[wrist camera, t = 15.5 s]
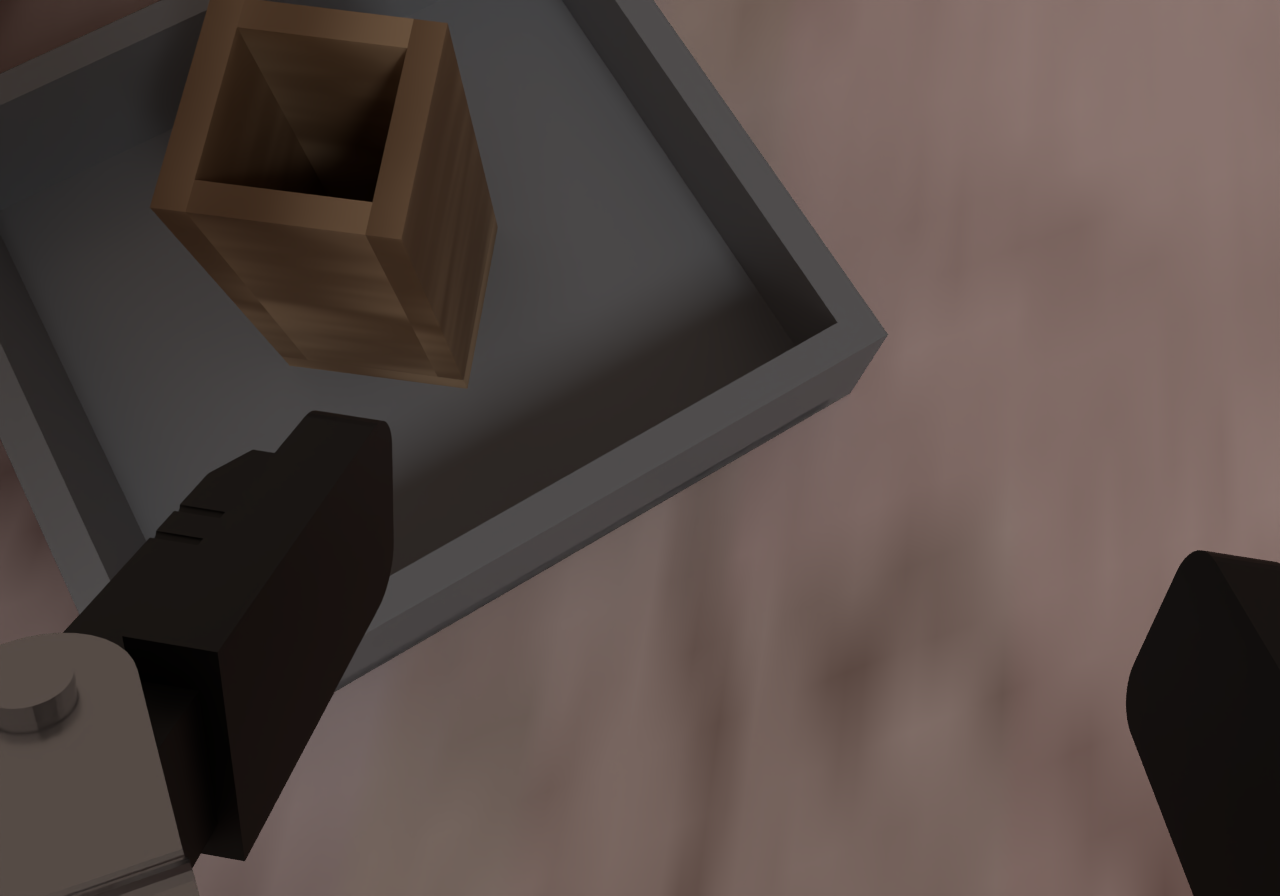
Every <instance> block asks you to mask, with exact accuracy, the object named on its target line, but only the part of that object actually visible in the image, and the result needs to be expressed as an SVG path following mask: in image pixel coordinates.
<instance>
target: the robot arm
mask: <svg viewBox="0 0 1280 896" xmlns="http://www.w3.org/2000/svg"><path fill="white" fill-rule="evenodd" d="M393 551H394V524H393V459H392V436H391V431H390V427H389V425H388V424H387V422H385V421H381V420H375V419H368V418H362V417H356V416H349V415H343V414H336V413H330V412H324V411H317V410H314V411H311V412H309V413H308V414H307V415H306V416H305V417H304V418H303V419H302V421H301V422H300V423H299V424H298V425H297V427H296V428H295V429H294V430H293V431H292V433H291V434H290V435H289V436H288V437H287V439H286V440H285V441H284V442H283V443H282V445H281V446H280V447H279V448H278V449H277V451H276V452H275V453H272V452H266V451H259V450H251V451H249V452H247V453H245V454H243V455H241V456H240V457H238V458H236V459H234V460H232V461H230V462H228V463H226V464H225V465H223V466H221V467H219V468H217V469H215V470H213V471H211V472H210V473H208V474H207V475H206V476H205V477H204V478H203V479H202V481H201V482H200V483H199V484H198V485H197V486H196V487H195V488H194V489H193V490H192V492H191V493H190V494H189V495H188V496H187V497H186V498H185V499H184V500H183V501H182V503H181V504H180V508H179V511H173V512H172V514H171V515H170V516H169V517H168V518H167V519H166V520H165V521H164V522H163V523H162V525H161V526H160V527H159V528H158V529H157V530H156V535H155V538H149V539H148V540H147V541H146V542H145V543H144V544H143V545H142V547H141V548H140V549H139V550H138V551H137V552H136V553H135V554H134V555H133V556H132V558H131V559H130V560H129V561H128V562H127V563H126V564H125V565H124V566H123V567H122V569H121V570H120V571H119V572H118V573H117V574H116V575H115V576H114V577H113V578H112V580H111V581H110V582H109V583H108V584H107V585H106V586H105V587H104V588H103V589H102V591H101V592H100V593H99V594H98V595H97V596H96V597H95V598H94V599H93V600H92V601H91V603H90V604H89V605H88V606H87V607H86V608H85V609H84V610H83V611H82V612H81V614H80V615H79V616H78V617H77V618H76V619H75V620H74V621H73V622H72V623H71V625H70V626H69V627H68V628H67V629H66V630H65V631H64V632H63V633H52V634H42V635H36V636H31V637H26V638H22V639H18V640H15V641H11V642H8V643H5V644H2V645H0V896H199V892H198V888H197V885H196V881H195V877H194V874H193V870H192V868H193V866H194V864H195V862H196V861H197V859H198V857H199V856H200V854H201V853H202V854H208V855H213V856H219V857H224V858H230V859H236V860H241V861H245V860H246V858H247V856H248V854H249V852H250V850H251V849H252V847H253V845H254V843H255V841H256V839H257V837H258V835H259V833H260V832H261V830H262V828H263V826H264V824H265V822H266V820H267V818H268V816H269V815H270V813H271V811H272V809H273V807H274V805H275V803H276V801H277V799H278V798H279V796H280V794H281V792H282V790H283V788H284V786H285V784H286V782H287V781H288V779H289V777H290V775H291V773H292V771H293V769H294V767H295V765H296V764H297V762H298V760H299V758H300V756H301V754H302V752H303V750H304V748H305V746H306V745H307V743H308V741H309V739H310V737H311V735H312V733H313V731H314V729H315V728H316V726H317V724H318V722H319V720H320V718H321V716H322V714H323V712H324V711H325V709H326V707H327V705H328V703H329V701H330V699H331V697H332V695H333V694H334V692H335V690H336V688H337V686H338V684H339V682H340V680H341V678H342V677H343V675H344V673H345V671H346V669H347V667H348V665H349V663H350V661H351V660H352V658H353V656H354V654H355V652H356V650H357V648H358V646H359V644H360V642H361V641H362V639H363V637H364V635H365V633H366V631H367V629H368V627H369V625H370V624H371V622H372V620H373V618H374V616H375V614H376V612H377V610H378V608H379V606H380V604H381V602H382V600H383V597H384V595H385V592H386V589H387V585H388V581H389V577H390V573H391V567H392V561H393ZM1126 713H1127V720H1128V725H1129V729H1130V732H1131V735H1132V738H1133V740H1134V743H1135V745H1136V748H1137V750H1138V753H1139V756H1140V758H1141V761H1142V763H1143V766H1144V769H1145V771H1146V774H1147V776H1148V779H1149V782H1150V784H1151V787H1152V789H1153V792H1154V795H1155V797H1156V800H1157V802H1158V805H1159V807H1160V810H1161V813H1162V815H1163V818H1164V820H1165V823H1166V826H1167V828H1168V831H1169V833H1170V836H1171V839H1172V841H1173V844H1174V846H1175V849H1176V852H1177V854H1178V857H1179V859H1180V862H1181V864H1182V867H1183V870H1184V872H1185V875H1186V877H1187V880H1188V883H1189V885H1190V888H1191V890H1192V893H1193V896H1280V563H1278V562H1273V561H1266V560H1260V559H1253V558H1247V557H1241V556H1234V555H1228V554H1221V553H1215V552H1209V551H1200V550H1198V551H1195V552H1192V553H1191V554H1189V555H1188V556H1187V557H1186V558H1185V559H1184V560H1183V562H1182V563H1181V565H1180V566H1179V568H1178V570H1177V572H1176V574H1175V576H1174V579H1173V581H1172V583H1171V585H1170V587H1169V589H1168V592H1167V594H1166V596H1165V598H1164V600H1163V602H1162V604H1161V607H1160V609H1159V611H1158V613H1157V615H1156V617H1155V619H1154V622H1153V624H1152V626H1151V628H1150V630H1149V632H1148V634H1147V637H1146V639H1145V641H1144V643H1143V645H1142V647H1141V649H1140V652H1139V654H1138V656H1137V658H1136V660H1135V662H1134V665H1133V667H1132V670H1131V673H1130V676H1129V681H1128V686H1127V694H1126Z"/></svg>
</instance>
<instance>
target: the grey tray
mask: <svg viewBox="0 0 1280 896" xmlns="http://www.w3.org/2000/svg"><path fill="white" fill-rule="evenodd" d="M209 1H210V0H160V1H158V2H156V3H154V4H152V5H150V6H147V7H145V8H143V9H141V10H139V11H136V12H134V13H132V14H130V15H128V16H125V17H123V18H121V19H119V20H117V21H114V22H112V23H110V24H108V25H106V26H104V27H101V28H99V29H97V30H95V31H93V32H90V33H88V34H86V35H84V36H82V37H79V38H77V39H75V40H73V41H71V42H69V43H66V44H64V45H62V46H60V47H58V48H55V49H53V50H51V51H49V52H47V53H44V54H42V55H40V56H38V57H36V58H34V59H31V60H29V61H27V62H25V63H23V64H20V65H18V66H16V67H14V68H12V69H9V70H7V71H5V72H3V73H1V74H0V439H1V441H2V443H3V446H4V448H5V450H6V452H7V455H8V457H9V459H10V461H11V463H12V466H13V468H14V470H15V472H16V475H17V477H18V479H19V481H20V483H21V486H22V488H23V490H24V492H25V495H26V497H27V499H28V501H29V503H30V506H31V508H32V510H33V512H34V515H35V517H36V519H37V521H38V523H39V526H40V528H41V530H42V532H43V535H44V537H45V539H46V541H47V543H48V546H49V548H50V550H51V552H52V555H53V557H54V559H55V561H56V563H57V566H58V568H59V570H60V572H61V575H62V577H63V579H64V581H65V583H66V586H67V588H68V590H69V592H70V595H71V597H72V599H73V601H74V603H75V606H76V608H77V610H78V612H79V615H80V614H81V612H82V611H83V610H84V609H85V608H86V607H87V606H88V605H89V604H90V603H91V601H92V600H93V599H94V598H95V597H96V596H97V595H98V594H99V593H100V592H101V591H102V589H103V588H104V587H105V586H106V585H107V584H108V583H109V582H110V581H111V580H112V578H113V577H114V576H115V575H116V574H117V573H118V572H119V571H120V570H121V569H122V567H123V566H124V565H125V564H126V563H127V562H128V561H129V560H130V559H131V558H132V556H133V555H134V554H135V553H136V552H137V551H138V550H139V549H140V548H141V547H142V545H143V544H144V543H145V542H146V541H147V540H148V539H149V538H155V535H156V530H157V529H158V528H159V527H160V526H161V525H162V523H163V522H164V521H165V520H166V519H167V518H168V517H169V516H170V515H171V514H172V512H173V511H179V508H180V504H181V503H182V501H183V500H184V499H185V498H186V497H187V496H188V495H189V494H190V493H191V492H192V490H193V489H194V488H195V487H196V486H197V485H198V484H199V483H200V482H201V481H202V479H203V478H204V477H205V476H206V475H207V474H208V473H210V472H211V471H213V470H215V469H217V468H219V467H221V466H223V465H225V464H226V463H228V462H230V461H232V460H234V459H236V458H238V457H240V456H241V455H243V454H245V453H247V452H249V451H251V450H259V451H266V452H272V453H275V452H276V451H277V449H278V448H279V447H280V446H281V445H282V443H283V442H284V441H285V440H286V439H287V437H288V436H289V435H290V434H291V433H292V431H293V430H294V429H295V428H296V427H297V425H298V424H299V423H300V422H301V421H302V419H303V418H304V417H305V416H306V415H307V414H308V413H309V412H311V411H314V410H317V411H324V412H330V413H336V414H343V415H349V416H356V417H362V418H368V419H375V420H381V421H385V422H387V424H388V425H389V427H390V431H391V436H392V459H393V524H394V551H393V561H392V567H391V573H390V577H389V581H388V585H387V589H386V592H385V595H384V597H383V600H382V602H381V604H380V606H379V608H378V610H377V612H376V614H375V616H374V618H373V620H372V622H371V624H370V625H369V627H368V629H367V631H366V633H365V635H364V637H363V639H362V641H361V642H360V644H359V646H358V648H357V650H356V652H355V654H354V656H353V658H352V660H351V661H350V663H349V665H348V667H347V669H346V671H345V673H344V675H343V677H342V678H341V680H340V682H339V684H338V686H337V688H336V690H335V691H337V690H339V689H340V688H342V687H344V686H346V685H347V684H349V683H351V682H352V681H354V680H356V679H358V678H359V677H361V676H363V675H365V674H366V673H368V672H370V671H371V670H373V669H375V668H377V667H378V666H380V665H382V664H384V663H385V662H387V661H389V660H390V659H392V658H394V657H396V656H397V655H399V654H401V653H403V652H404V651H406V650H408V649H409V648H411V647H413V646H415V645H416V644H418V643H420V642H422V641H423V640H425V639H427V638H428V637H430V636H432V635H434V634H435V633H437V632H439V631H440V630H442V629H444V628H446V627H447V626H449V625H451V624H453V623H454V622H456V621H458V620H459V619H461V618H463V617H465V616H466V615H468V614H470V613H472V612H473V611H475V610H477V609H478V608H480V607H482V606H484V605H485V604H487V603H489V602H491V601H492V600H494V599H496V598H497V597H499V596H501V595H503V594H504V593H506V592H508V591H510V590H511V589H513V588H515V587H516V586H518V585H520V584H522V583H523V582H525V581H527V580H529V579H530V578H532V577H534V576H535V575H537V574H539V573H541V572H542V571H544V570H546V569H548V568H549V567H551V566H553V565H554V564H556V563H558V562H560V561H561V560H563V559H565V558H566V557H568V556H570V555H572V554H573V553H575V552H577V551H579V550H580V549H582V548H584V547H585V546H587V545H589V544H591V543H592V542H594V541H596V540H598V539H599V538H601V537H603V536H604V535H606V534H608V533H610V532H611V531H613V530H615V529H617V528H618V527H620V526H622V525H623V524H625V523H627V522H629V521H630V520H632V519H634V518H636V517H637V516H639V515H641V514H642V513H644V512H646V511H648V510H649V509H651V508H653V507H655V506H656V505H658V504H660V503H661V502H663V501H665V500H667V499H668V498H670V497H672V496H674V495H675V494H677V493H679V492H680V491H682V490H684V489H686V488H687V487H689V486H691V485H692V484H694V483H696V482H698V481H699V480H701V479H703V478H705V477H706V476H708V475H710V474H711V473H713V472H715V471H717V470H718V469H720V468H722V467H724V466H725V465H727V464H729V463H730V462H732V461H734V460H736V459H737V458H739V457H741V456H743V455H744V454H746V453H748V452H749V451H751V450H753V449H755V448H756V447H758V446H760V445H762V444H763V443H765V442H767V441H768V440H770V439H772V438H774V437H775V436H777V435H779V434H781V433H782V432H784V431H786V430H787V429H789V428H791V427H793V426H794V425H796V424H798V423H799V422H801V421H803V420H805V419H806V418H808V417H810V416H812V415H813V414H815V413H817V412H818V411H820V410H822V409H824V408H825V407H827V406H829V405H831V404H832V403H834V402H836V401H837V400H839V399H841V398H843V397H844V396H846V395H848V394H850V393H851V391H852V390H853V388H854V387H855V385H856V383H857V382H858V380H859V379H860V377H861V376H862V374H863V373H864V371H865V369H866V368H867V366H868V365H869V363H870V362H871V360H872V359H873V357H874V355H875V354H876V352H877V351H878V349H879V348H880V346H881V345H882V343H883V341H884V340H885V338H886V337H887V335H888V334H887V333H886V331H885V330H884V328H883V327H882V325H881V324H880V323H879V321H878V320H877V318H876V317H875V315H874V314H873V313H872V311H871V310H870V308H869V307H868V305H867V304H866V303H865V301H864V300H863V298H862V297H861V295H860V294H859V293H858V291H857V290H856V288H855V287H854V285H853V284H852V283H851V281H850V280H849V278H848V277H847V276H846V274H845V273H844V271H843V270H842V268H841V267H840V266H839V264H838V263H837V261H836V260H835V258H834V257H833V256H832V254H831V253H830V251H829V250H828V248H827V247H826V246H825V244H824V243H823V241H822V240H821V238H820V237H819V236H818V234H817V233H816V231H815V230H814V228H813V227H812V226H811V224H810V223H809V221H808V220H807V218H806V217H805V216H804V214H803V213H802V211H801V210H800V209H799V207H798V206H797V204H796V203H795V201H794V200H793V199H792V197H791V196H790V194H789V193H788V191H787V190H786V189H785V187H784V186H783V184H782V183H781V181H780V180H779V179H778V177H777V176H776V174H775V173H774V171H773V170H772V169H771V167H770V166H769V164H768V163H767V161H766V160H765V159H764V157H763V156H762V154H761V153H760V151H759V150H758V149H757V147H756V146H755V144H754V143H753V142H752V140H751V139H750V137H749V136H748V134H747V133H746V132H745V130H744V129H743V127H742V126H741V124H740V123H739V122H738V120H737V119H736V117H735V116H734V114H733V113H732V112H731V110H730V109H729V107H728V106H727V104H726V103H725V102H724V100H723V99H722V97H721V96H720V94H719V93H718V92H717V90H716V89H715V87H714V86H713V85H712V83H711V82H710V80H709V79H708V77H707V76H706V75H705V73H704V72H703V70H702V69H701V67H700V66H699V65H698V63H697V62H696V60H695V59H694V57H693V56H692V55H691V53H690V52H689V50H688V49H687V47H686V46H685V45H684V43H683V42H682V40H681V39H680V37H679V36H678V35H677V33H676V32H675V30H674V29H673V27H672V26H671V25H670V23H669V22H668V20H667V19H666V18H665V16H664V15H663V13H662V12H661V10H660V9H659V8H658V6H657V5H656V3H655V2H654V0H264V1H272V2H280V3H288V4H296V5H305V6H313V7H321V8H329V9H337V10H345V11H354V12H362V13H370V14H378V15H386V16H394V17H403V18H411V19H419V20H427V21H435V22H443V23H448V26H449V30H450V34H451V39H452V43H453V47H454V51H455V55H456V59H457V63H458V67H459V71H460V75H461V79H462V83H463V87H464V91H465V96H466V100H467V104H468V108H469V112H470V116H471V120H472V124H473V128H474V132H475V136H476V140H477V144H478V149H479V153H480V157H481V161H482V165H483V169H484V173H485V177H486V181H487V185H488V189H489V193H490V197H491V201H492V206H493V210H494V214H495V218H496V222H497V226H498V228H497V234H496V239H495V244H494V250H493V255H492V260H491V266H490V271H489V276H488V282H487V287H486V292H485V298H484V303H483V308H482V314H481V319H480V324H479V330H478V335H477V340H476V346H475V351H474V357H473V362H472V367H471V373H470V378H469V383H468V389H465V388H457V387H449V386H442V385H434V384H426V383H419V382H411V381H403V380H396V379H388V378H380V377H373V376H365V375H357V374H350V373H342V372H334V371H327V370H319V369H311V368H304V367H296V366H290V365H289V364H288V363H287V362H286V361H285V360H284V359H283V357H282V356H281V355H280V354H279V353H278V352H277V351H276V350H275V348H274V347H273V346H272V345H271V344H270V343H269V342H268V341H267V339H266V338H265V337H264V336H263V335H262V334H261V333H260V331H259V330H258V329H257V328H256V327H255V326H254V325H253V324H252V322H251V321H250V320H249V319H248V318H247V317H246V316H245V315H244V313H243V312H242V311H241V310H240V309H239V308H238V307H237V306H236V304H235V303H234V302H233V301H232V300H231V299H230V298H229V296H228V295H227V294H226V293H225V292H224V291H223V290H222V289H221V287H220V286H219V285H218V284H217V283H216V282H215V281H214V280H213V278H212V277H211V276H210V275H209V274H208V273H207V272H206V270H205V269H204V268H203V267H202V266H201V265H200V264H199V263H198V261H197V260H196V259H195V258H194V257H193V256H192V255H191V254H190V252H189V251H188V250H187V249H186V248H185V247H184V246H183V244H182V243H181V242H180V241H179V240H178V239H177V238H176V237H175V235H174V234H173V233H172V232H171V231H170V230H169V229H168V228H167V226H166V225H165V224H164V223H163V222H162V221H161V220H160V219H159V217H158V216H157V215H156V214H155V213H154V212H153V211H152V209H151V208H150V205H151V201H152V198H153V194H154V191H155V187H156V184H157V180H158V177H159V173H160V170H161V167H162V163H163V160H164V156H165V153H166V149H167V146H168V142H169V139H170V135H171V132H172V129H173V125H174V122H175V118H176V115H177V111H178V108H179V104H180V101H181V97H182V94H183V91H184V87H185V84H186V80H187V77H188V73H189V70H190V66H191V63H192V59H193V56H194V53H195V49H196V46H197V42H198V39H199V35H200V32H201V28H202V25H203V21H204V18H205V15H206V11H207V8H208V4H209Z"/></svg>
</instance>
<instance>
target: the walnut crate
mask: <svg viewBox="0 0 1280 896" xmlns="http://www.w3.org/2000/svg"><path fill="white" fill-rule="evenodd" d="M150 208H151V209H152V211H153V212H154V213H155V214H156V215H157V216H158V217H159V219H160V220H161V221H162V222H163V223H164V224H165V225H166V226H167V228H168V229H169V230H170V231H171V232H172V233H173V234H174V235H175V237H176V238H177V239H178V240H179V241H180V242H181V243H182V244H183V246H184V247H185V248H186V249H187V250H188V251H189V252H190V254H191V255H192V256H193V257H194V258H195V259H196V260H197V261H198V263H199V264H200V265H201V266H202V267H203V268H204V269H205V270H206V272H207V273H208V274H209V275H210V276H211V277H212V278H213V280H214V281H215V282H216V283H217V284H218V285H219V286H220V287H221V289H222V290H223V291H224V292H225V293H226V294H227V295H228V296H229V298H230V299H231V300H232V301H233V302H234V303H235V304H236V306H237V307H238V308H239V309H240V310H241V311H242V312H243V313H244V315H245V316H246V317H247V318H248V319H249V320H250V321H251V322H252V324H253V325H254V326H255V327H256V328H257V329H258V330H259V331H260V333H261V334H262V335H263V336H264V337H265V338H266V339H267V341H268V342H269V343H270V344H271V345H272V346H273V347H274V348H275V350H276V351H277V352H278V353H279V354H280V355H281V356H282V357H283V359H284V360H285V361H286V362H287V363H288V364H289V365H290V366H296V367H304V368H311V369H319V370H327V371H334V372H342V373H350V374H357V375H365V376H373V377H380V378H388V379H396V380H403V381H411V382H419V383H426V384H434V385H442V386H449V387H457V388H465V389H468V383H469V378H470V373H471V367H472V362H473V357H474V351H475V346H476V340H477V335H478V330H479V324H480V319H481V314H482V308H483V303H484V298H485V292H486V287H487V282H488V276H489V271H490V266H491V260H492V255H493V250H494V244H495V239H496V234H497V228H498V226H497V222H496V218H495V214H494V210H493V206H492V201H491V197H490V193H489V189H488V185H487V181H486V177H485V173H484V169H483V165H482V161H481V157H480V153H479V149H478V144H477V140H476V136H475V132H474V128H473V124H472V120H471V116H470V112H469V108H468V104H467V100H466V96H465V91H464V87H463V83H462V79H461V75H460V71H459V67H458V63H457V59H456V55H455V51H454V47H453V43H452V39H451V34H450V30H449V26H448V23H443V22H435V21H427V20H419V19H411V18H403V17H394V16H386V15H378V14H370V13H362V12H354V11H345V10H337V9H329V8H321V7H313V6H305V5H296V4H288V3H280V2H272V1H264V0H210V1H209V4H208V8H207V11H206V15H205V18H204V21H203V25H202V28H201V32H200V35H199V39H198V42H197V46H196V49H195V53H194V56H193V59H192V63H191V66H190V70H189V73H188V77H187V80H186V84H185V87H184V91H183V94H182V97H181V101H180V104H179V108H178V111H177V115H176V118H175V122H174V125H173V129H172V132H171V135H170V139H169V142H168V146H167V149H166V153H165V156H164V160H163V163H162V167H161V170H160V173H159V177H158V180H157V184H156V187H155V191H154V194H153V198H152V201H151V205H150Z"/></svg>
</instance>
